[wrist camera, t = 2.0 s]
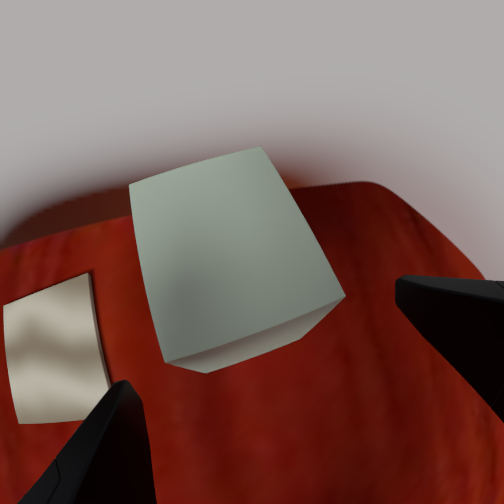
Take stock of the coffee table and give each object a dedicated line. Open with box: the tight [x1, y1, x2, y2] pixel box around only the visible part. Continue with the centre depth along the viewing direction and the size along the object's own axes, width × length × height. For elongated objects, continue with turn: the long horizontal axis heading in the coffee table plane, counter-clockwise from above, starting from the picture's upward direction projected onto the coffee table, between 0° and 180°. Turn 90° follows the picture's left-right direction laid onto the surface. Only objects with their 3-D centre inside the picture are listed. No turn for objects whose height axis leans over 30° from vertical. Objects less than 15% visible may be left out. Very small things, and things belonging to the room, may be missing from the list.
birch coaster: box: [4, 273, 111, 424], centre depth 17 cm, size 12×12×1 cm
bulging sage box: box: [129, 146, 345, 373], centre depth 16 cm, size 9×7×10 cm
